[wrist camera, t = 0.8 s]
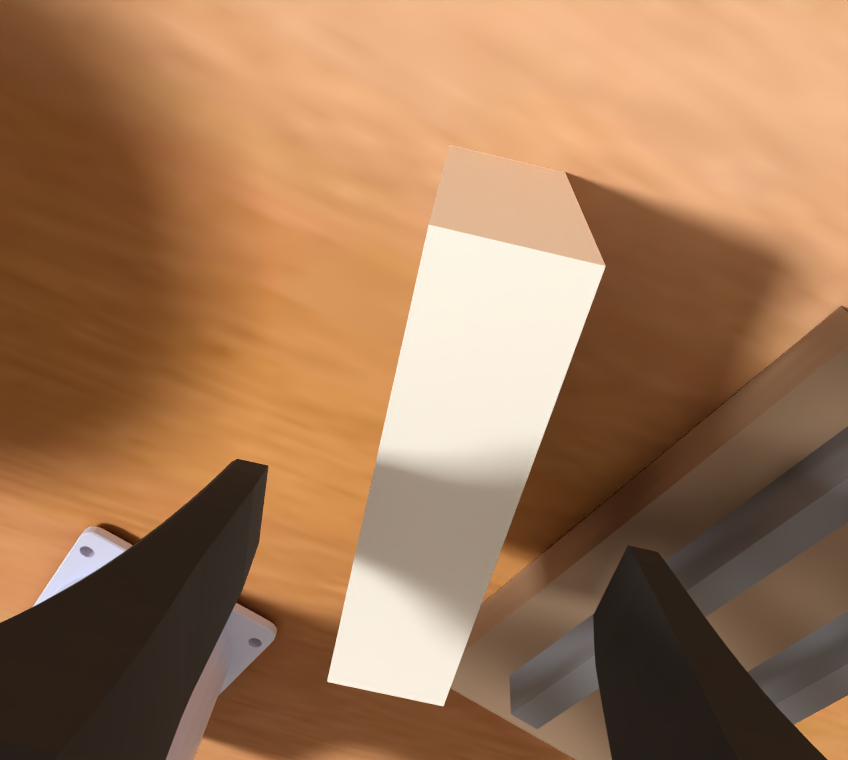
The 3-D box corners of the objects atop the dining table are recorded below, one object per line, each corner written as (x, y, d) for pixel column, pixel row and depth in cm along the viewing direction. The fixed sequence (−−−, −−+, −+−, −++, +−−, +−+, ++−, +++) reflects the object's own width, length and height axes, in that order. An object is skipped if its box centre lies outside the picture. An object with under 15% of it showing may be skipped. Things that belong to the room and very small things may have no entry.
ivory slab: (460, 521, 23) (451, 707, 17) (368, 501, 23) (327, 682, 17) (571, 172, 17) (617, 268, 11) (449, 143, 17) (428, 224, 11)
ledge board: (640, 764, 29) (655, 840, 26) (433, 643, 26) (428, 715, 24) (1072, 514, 21) (1154, 587, 18) (840, 306, 18) (899, 357, 16)
